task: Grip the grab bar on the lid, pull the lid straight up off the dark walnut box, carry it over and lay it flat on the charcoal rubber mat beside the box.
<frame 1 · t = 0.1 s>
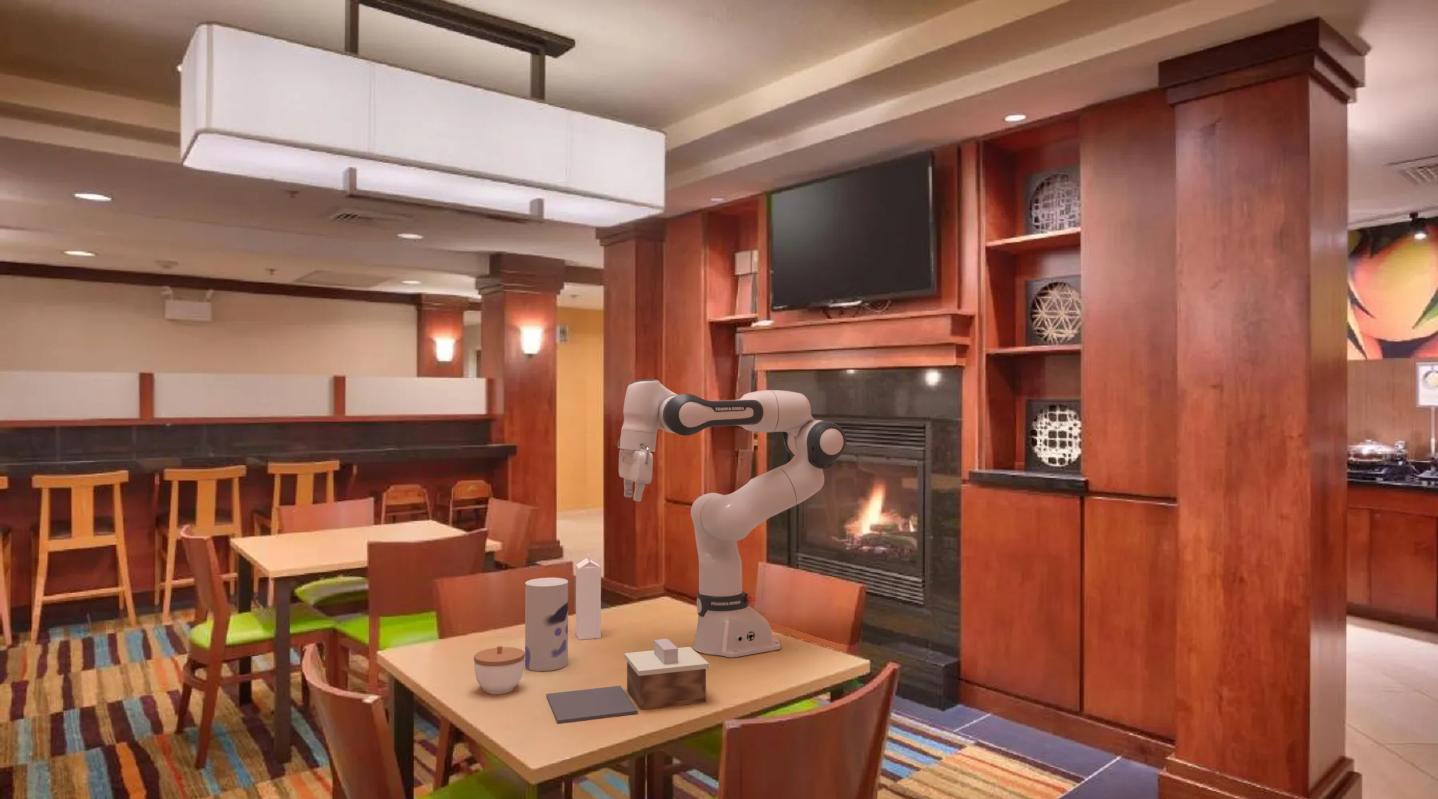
hand: (632, 499, 205), 39 cm above the table, tool pointing down, fingers open, 8 cm apart
lidded jar: (499, 690, 180), on the table
box: (665, 696, 176), on the table
container: (546, 666, 197), on the table
mat: (590, 704, 171), on the table
milk: (588, 637, 223), on the table
lid: (665, 666, 176), point 6 cm above the table, touching box
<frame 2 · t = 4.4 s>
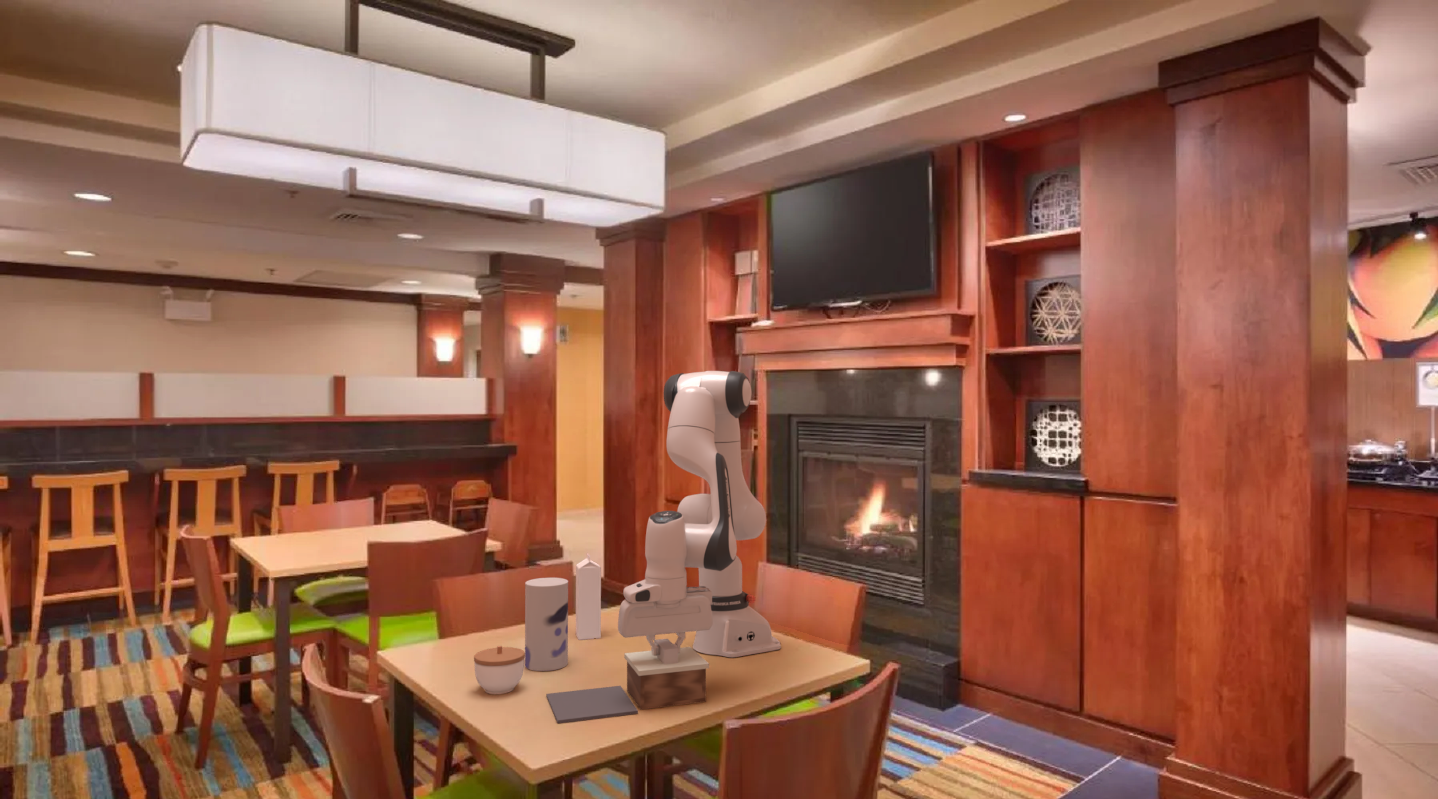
hand: (665, 654, 176), 9 cm above the table, tool pointing down, fingers closed on lid, 3 cm apart
lid: (665, 666, 176), point 6 cm above the table, touching box, gripper
everything else where it was.
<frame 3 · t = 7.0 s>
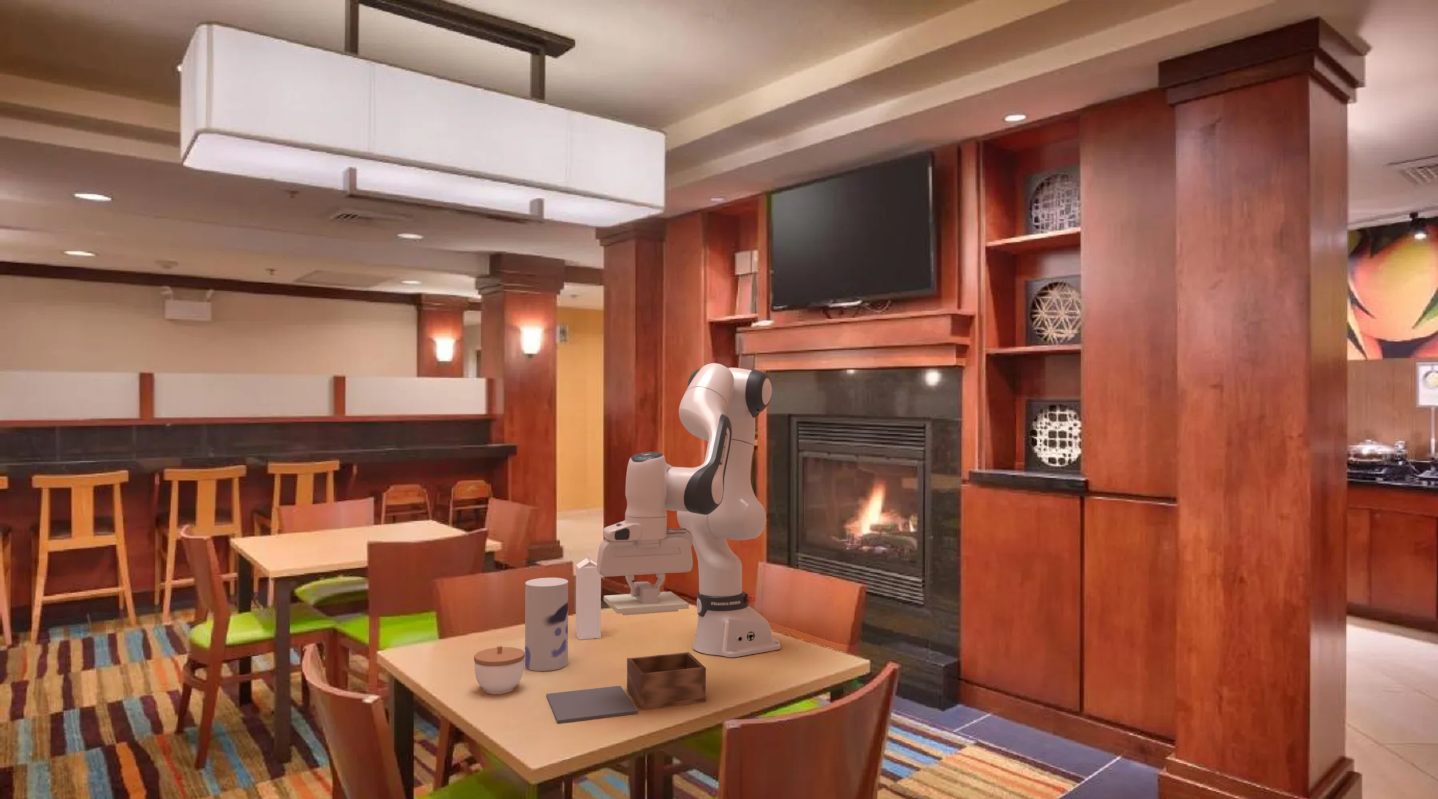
hand: (645, 595, 174), 22 cm above the table, tool pointing down, fingers closed on lid, 3 cm apart
lid: (645, 608, 174), point 19 cm above the table, touching gripper
everything else where it was.
when the fingers open (5 cm above the table, at t = 10.1 s): lid drops 2 cm, resting on mat.
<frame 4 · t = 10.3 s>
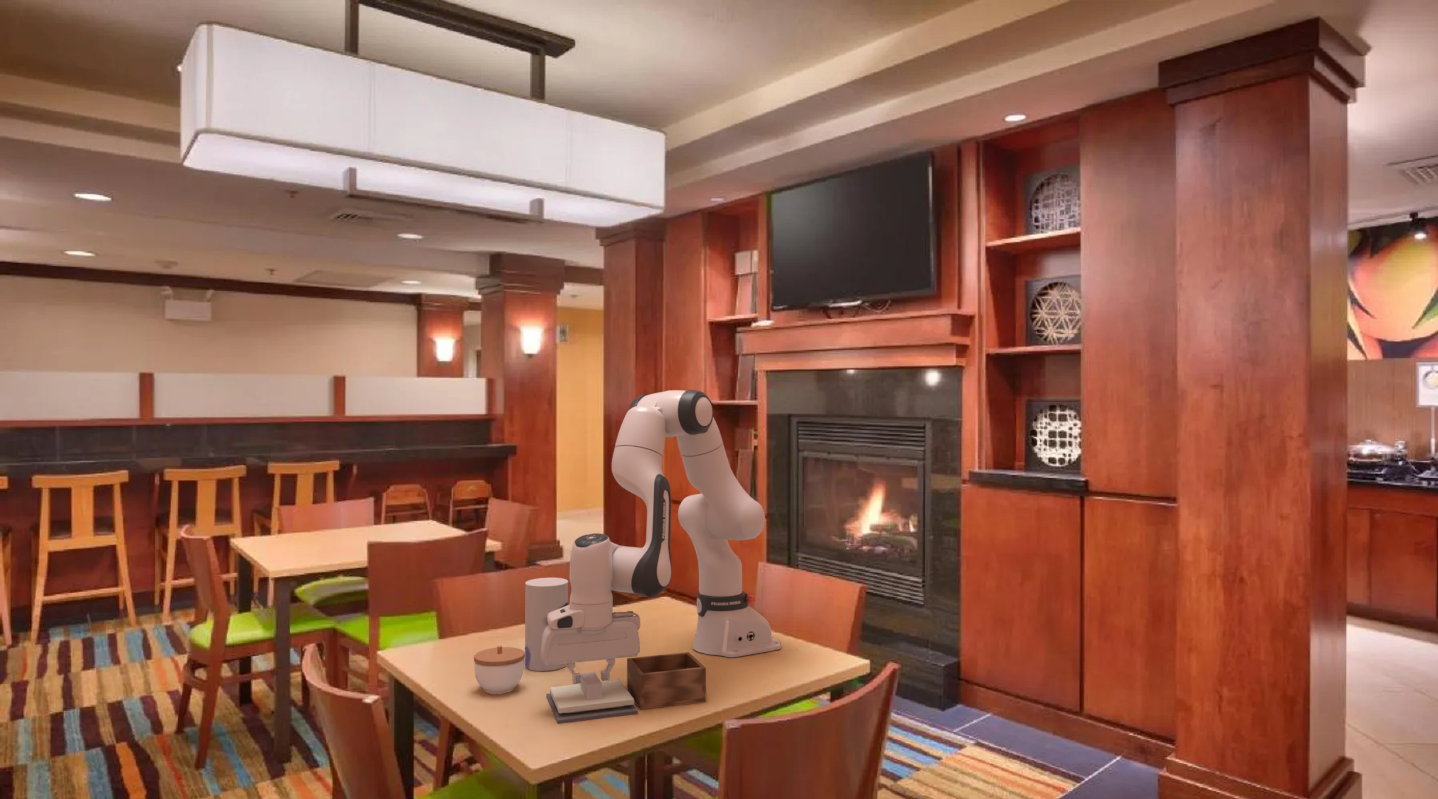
hand: (591, 681, 171), 5 cm above the table, tool pointing down, fingers open, 5 cm apart
lid: (591, 702, 171), point 1 cm above the table, touching mat
everything else where it was.
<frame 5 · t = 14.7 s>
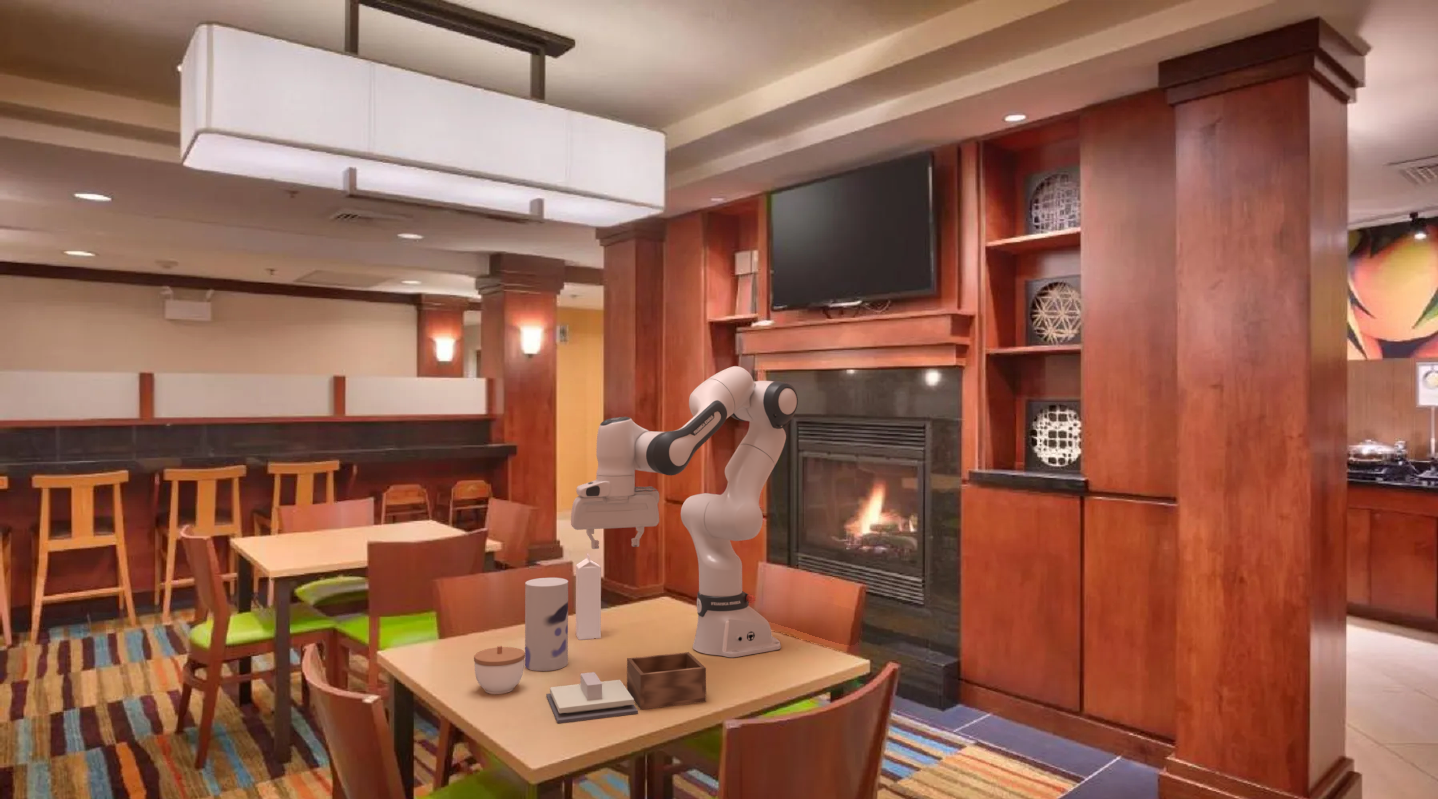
hand: (615, 547, 191), 29 cm above the table, tool pointing down, fingers open, 8 cm apart
nothing on the table moved.
at the end: lid inside the target area on the mat (0.0 cm from its centre), point 0.6 cm above the mat's base; lid tilted 0°; the gripper is holding nothing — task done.
